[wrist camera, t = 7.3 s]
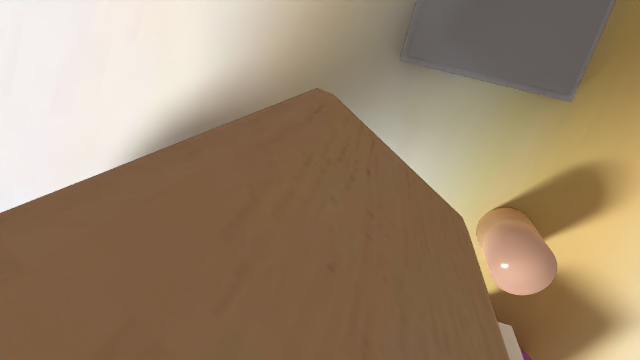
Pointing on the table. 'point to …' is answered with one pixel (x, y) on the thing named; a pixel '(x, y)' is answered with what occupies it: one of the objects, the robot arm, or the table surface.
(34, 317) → the wooden block
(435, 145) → the table surface
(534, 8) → the stand
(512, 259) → the peach rounded capsule part
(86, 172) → the table surface
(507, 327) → the robot arm
